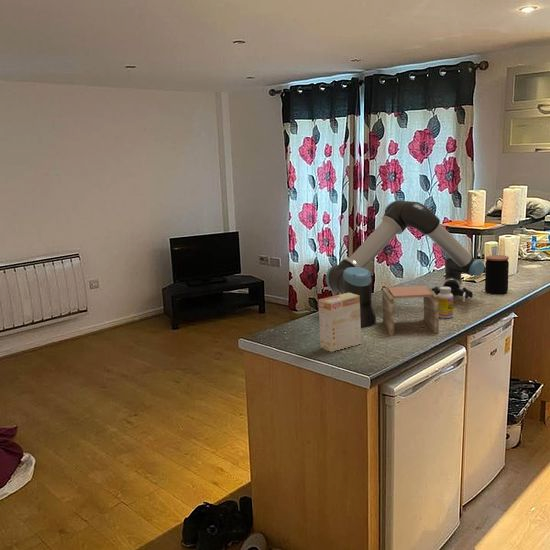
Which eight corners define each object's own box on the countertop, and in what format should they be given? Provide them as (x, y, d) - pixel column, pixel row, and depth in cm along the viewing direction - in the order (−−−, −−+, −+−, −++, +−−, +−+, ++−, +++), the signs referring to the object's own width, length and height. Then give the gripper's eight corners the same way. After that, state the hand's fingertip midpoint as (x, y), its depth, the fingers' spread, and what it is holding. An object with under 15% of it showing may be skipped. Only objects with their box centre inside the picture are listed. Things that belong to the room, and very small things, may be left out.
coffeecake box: (350, 340, 218) (348, 292, 214) (362, 344, 212) (360, 295, 208) (319, 348, 210) (317, 299, 206) (331, 353, 204) (329, 302, 200)
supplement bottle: (448, 319, 237) (449, 290, 234) (434, 317, 241) (434, 288, 238) (455, 315, 241) (455, 287, 239) (441, 313, 246) (441, 285, 243)
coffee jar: (512, 292, 274) (513, 256, 271) (499, 296, 269) (500, 259, 265) (493, 288, 283) (494, 254, 279) (480, 292, 277) (481, 257, 274)
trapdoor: (393, 298, 220) (393, 296, 220) (387, 289, 235) (387, 287, 235) (431, 296, 219) (431, 294, 219) (423, 287, 234) (423, 285, 234)
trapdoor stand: (390, 335, 220) (389, 299, 217) (382, 321, 239) (382, 287, 236) (438, 333, 219) (438, 296, 216) (427, 319, 238) (427, 285, 235)
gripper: (479, 295, 260) (477, 307, 241) (424, 293, 269) (418, 305, 250) (479, 280, 258) (477, 291, 239) (424, 278, 268) (418, 289, 248)
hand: (447, 298), depth 245 cm, fingers open, 13 cm apart
